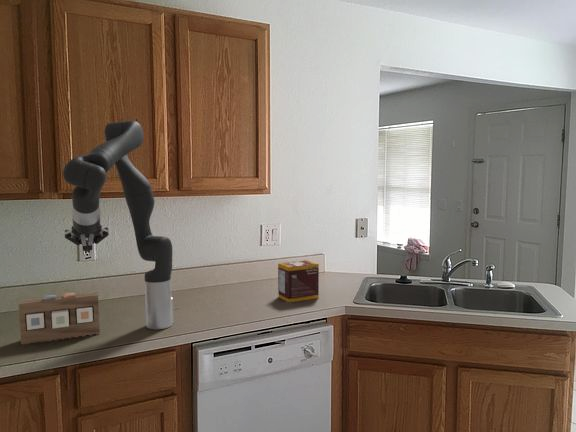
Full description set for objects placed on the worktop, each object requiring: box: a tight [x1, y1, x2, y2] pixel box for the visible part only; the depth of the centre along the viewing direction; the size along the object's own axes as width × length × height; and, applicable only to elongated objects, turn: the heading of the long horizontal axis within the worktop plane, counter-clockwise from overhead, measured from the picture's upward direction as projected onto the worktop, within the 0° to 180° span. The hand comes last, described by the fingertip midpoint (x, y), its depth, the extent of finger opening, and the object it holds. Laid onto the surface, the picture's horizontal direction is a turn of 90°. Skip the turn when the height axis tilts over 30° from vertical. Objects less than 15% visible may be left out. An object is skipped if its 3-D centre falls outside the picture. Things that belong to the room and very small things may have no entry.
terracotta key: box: [76, 306, 93, 323], centre depth 161 cm, size 5×5×5 cm
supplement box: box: [277, 259, 320, 303], centre depth 206 cm, size 10×15×16 cm
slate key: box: [26, 312, 45, 330], centre depth 155 cm, size 5×5×5 cm
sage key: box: [52, 309, 69, 328], centre depth 156 cm, size 5×5×5 cm
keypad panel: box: [18, 291, 101, 345], centre depth 159 cm, size 6×24×15 cm, turn 115°
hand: (87, 249), depth 148 cm, fingers closed
